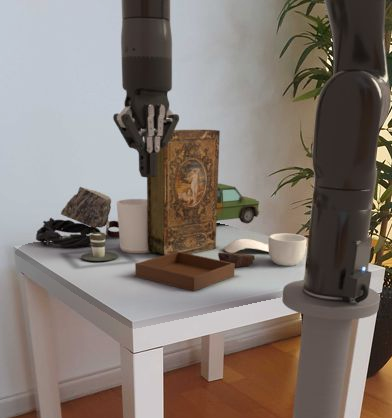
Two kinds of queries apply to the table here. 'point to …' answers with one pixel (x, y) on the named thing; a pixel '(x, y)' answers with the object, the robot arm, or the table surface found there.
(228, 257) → the stone
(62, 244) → the cable
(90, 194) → the stone block
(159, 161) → the book
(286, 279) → the table surface
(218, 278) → the tray
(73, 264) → the table surface
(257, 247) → the computer mouse
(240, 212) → the toy truck
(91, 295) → the table surface
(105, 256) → the olive disc with post
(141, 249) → the mug
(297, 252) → the teacup
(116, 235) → the watch
